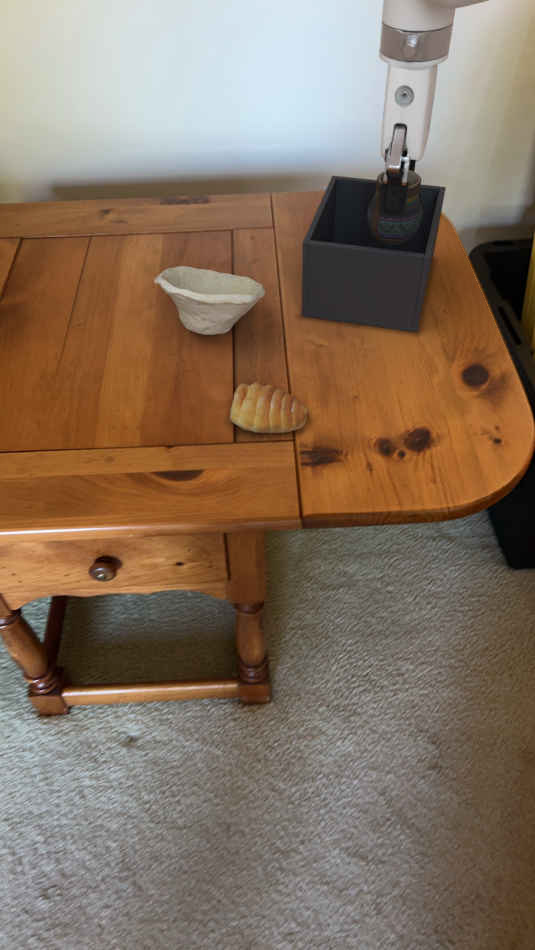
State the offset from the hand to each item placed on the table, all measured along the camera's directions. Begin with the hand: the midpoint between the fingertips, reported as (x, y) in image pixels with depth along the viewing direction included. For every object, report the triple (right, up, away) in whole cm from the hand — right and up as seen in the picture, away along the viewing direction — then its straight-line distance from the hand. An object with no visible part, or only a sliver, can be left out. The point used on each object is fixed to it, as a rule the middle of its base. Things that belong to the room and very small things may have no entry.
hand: (396, 198), depth 85 cm
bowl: (-24, -14, +10) cm, 30 cm away
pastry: (-17, -28, -2) cm, 33 cm away
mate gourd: (0, -3, +4) cm, 5 cm away
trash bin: (-1, -7, +15) cm, 16 cm away
